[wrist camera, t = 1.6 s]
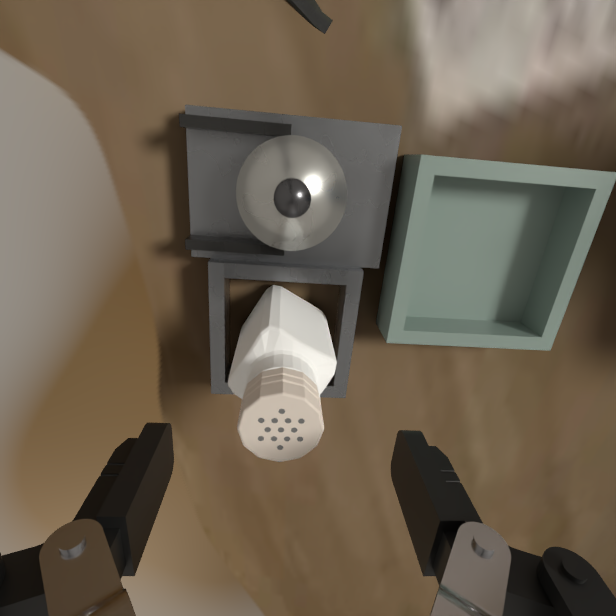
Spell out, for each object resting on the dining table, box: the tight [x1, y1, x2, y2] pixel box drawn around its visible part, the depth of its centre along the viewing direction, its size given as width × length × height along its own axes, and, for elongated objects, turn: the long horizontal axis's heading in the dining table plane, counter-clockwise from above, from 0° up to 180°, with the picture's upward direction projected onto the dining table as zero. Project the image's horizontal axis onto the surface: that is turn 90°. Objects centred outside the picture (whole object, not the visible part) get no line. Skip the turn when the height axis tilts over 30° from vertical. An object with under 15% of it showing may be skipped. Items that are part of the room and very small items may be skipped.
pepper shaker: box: [228, 285, 337, 462], centre depth 18 cm, size 4×4×10 cm
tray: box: [376, 155, 616, 350], centre depth 20 cm, size 10×10×3 cm
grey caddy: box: [179, 105, 402, 398], centre depth 19 cm, size 15×10×4 cm, turn 175°
